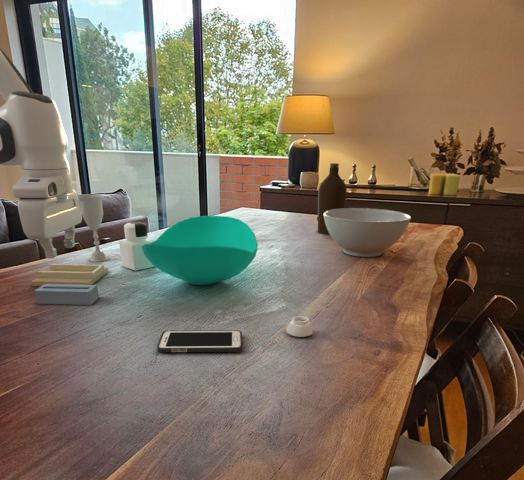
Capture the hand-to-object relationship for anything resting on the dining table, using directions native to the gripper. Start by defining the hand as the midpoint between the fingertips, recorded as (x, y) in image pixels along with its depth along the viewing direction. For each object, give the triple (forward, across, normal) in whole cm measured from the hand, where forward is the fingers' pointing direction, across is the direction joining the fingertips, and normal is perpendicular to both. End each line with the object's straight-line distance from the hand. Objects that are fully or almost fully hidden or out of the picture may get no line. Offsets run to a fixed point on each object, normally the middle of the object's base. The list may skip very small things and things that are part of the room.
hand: (61, 252), depth 98 cm
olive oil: (+12, -86, +68) cm, 110 cm away
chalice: (+11, -37, -6) cm, 39 cm away
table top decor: (+11, -17, +28) cm, 34 cm away
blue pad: (+11, 0, 0) cm, 11 cm away
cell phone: (+11, +22, +33) cm, 41 cm away
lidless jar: (+12, +16, +51) cm, 54 cm away
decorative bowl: (+12, -52, +75) cm, 92 cm away
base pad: (+11, -17, -6) cm, 21 cm away
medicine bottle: (+11, -30, +8) cm, 33 cm away
